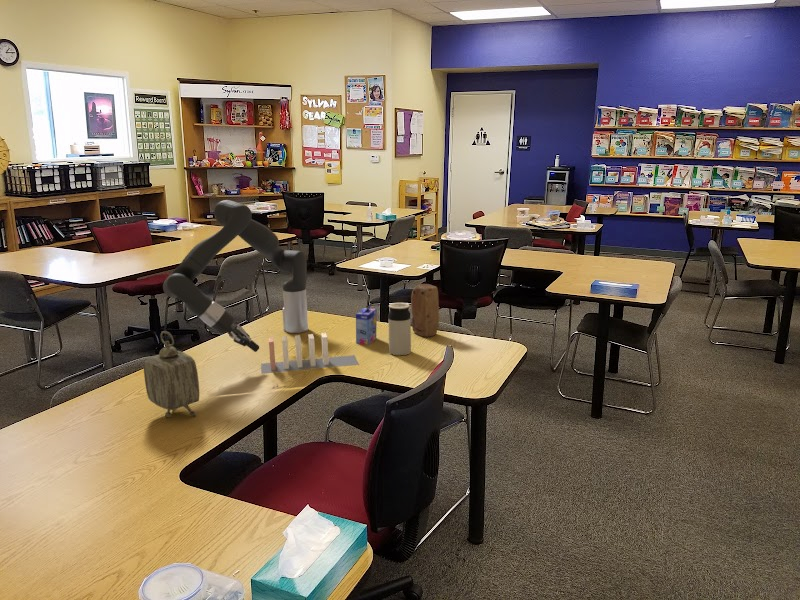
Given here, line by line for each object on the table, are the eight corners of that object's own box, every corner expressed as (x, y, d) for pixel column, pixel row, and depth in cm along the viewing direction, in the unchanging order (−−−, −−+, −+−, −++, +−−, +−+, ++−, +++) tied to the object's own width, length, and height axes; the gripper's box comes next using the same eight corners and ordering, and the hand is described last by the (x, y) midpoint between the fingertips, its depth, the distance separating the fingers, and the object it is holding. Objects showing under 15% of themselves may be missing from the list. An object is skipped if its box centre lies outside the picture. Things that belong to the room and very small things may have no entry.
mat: (261, 375, 208) (261, 373, 208) (261, 365, 218) (260, 363, 218) (359, 365, 215) (359, 364, 215) (354, 356, 225) (354, 355, 225)
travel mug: (407, 357, 223) (406, 308, 219) (386, 355, 226) (384, 307, 221) (413, 350, 230) (413, 303, 226) (393, 348, 233) (392, 301, 228)
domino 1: (271, 370, 211) (268, 342, 209) (270, 365, 216) (268, 337, 213) (275, 369, 212) (273, 341, 209) (275, 364, 216) (273, 337, 214)
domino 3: (297, 367, 213) (296, 339, 211) (296, 362, 218) (295, 335, 215) (302, 367, 213) (300, 339, 211) (301, 362, 218) (299, 335, 216)
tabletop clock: (202, 416, 177) (193, 332, 171) (172, 427, 171) (162, 340, 165) (176, 403, 187) (167, 323, 181) (147, 413, 180) (136, 330, 174)
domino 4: (310, 366, 214) (309, 338, 212) (309, 361, 219) (308, 334, 216) (315, 365, 214) (314, 338, 212) (314, 361, 219) (312, 334, 217)
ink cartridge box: (369, 345, 236) (368, 308, 233) (355, 344, 238) (354, 308, 234) (377, 338, 245) (376, 302, 242) (364, 337, 247) (363, 301, 243)
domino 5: (324, 365, 215) (322, 337, 213) (322, 360, 220) (321, 333, 217) (328, 364, 215) (327, 337, 213) (327, 359, 220) (325, 332, 218)
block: (440, 335, 247) (440, 286, 242) (426, 339, 243) (425, 289, 238) (423, 329, 256) (422, 281, 251) (408, 332, 251) (408, 284, 246)
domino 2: (284, 368, 212) (282, 340, 210) (283, 364, 217) (281, 336, 214) (289, 368, 212) (287, 340, 210) (288, 363, 217) (286, 336, 215)
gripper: (223, 314, 199) (265, 347, 205) (225, 304, 211) (264, 335, 217) (208, 331, 199) (250, 364, 205) (210, 320, 212) (250, 351, 217)
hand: (257, 349), depth 211 cm, fingers closed
